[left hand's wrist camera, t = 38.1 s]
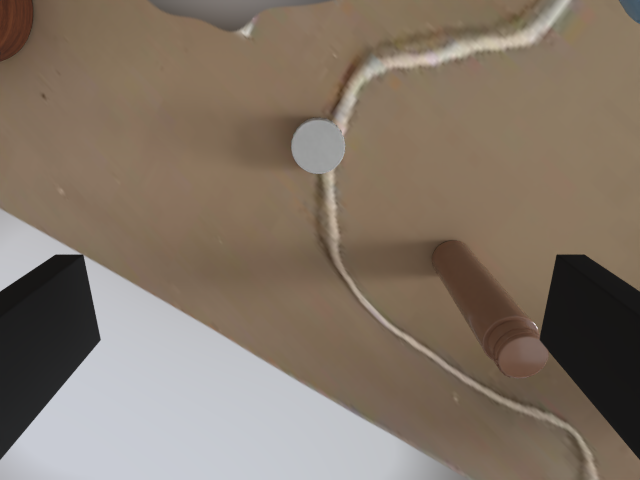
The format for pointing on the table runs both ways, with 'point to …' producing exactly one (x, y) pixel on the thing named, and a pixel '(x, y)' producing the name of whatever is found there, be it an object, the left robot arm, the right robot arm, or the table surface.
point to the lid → (318, 145)
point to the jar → (490, 312)
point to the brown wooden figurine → (14, 25)
